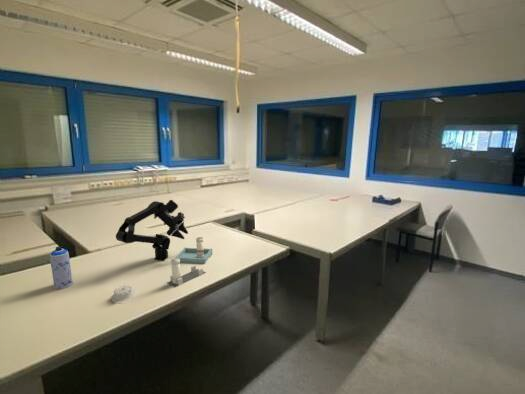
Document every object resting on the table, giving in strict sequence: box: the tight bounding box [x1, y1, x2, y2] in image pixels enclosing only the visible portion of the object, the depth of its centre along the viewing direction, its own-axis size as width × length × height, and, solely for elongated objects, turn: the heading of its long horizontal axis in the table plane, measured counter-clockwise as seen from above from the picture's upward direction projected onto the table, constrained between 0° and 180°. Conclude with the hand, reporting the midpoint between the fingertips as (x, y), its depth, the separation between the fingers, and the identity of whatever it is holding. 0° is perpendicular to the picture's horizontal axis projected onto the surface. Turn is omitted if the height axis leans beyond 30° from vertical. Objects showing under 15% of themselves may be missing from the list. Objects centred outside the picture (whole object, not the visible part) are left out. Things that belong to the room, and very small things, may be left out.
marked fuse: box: [195, 236, 204, 258], centre depth 171 cm, size 4×4×12 cm
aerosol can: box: [49, 245, 74, 290], centre depth 138 cm, size 8×8×20 cm
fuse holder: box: [166, 265, 207, 288], centre depth 147 cm, size 7×20×4 cm, turn 142°
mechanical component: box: [110, 285, 136, 304], centre depth 130 cm, size 10×4×10 cm
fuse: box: [170, 257, 182, 284], centre depth 141 cm, size 4×4×12 cm
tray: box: [174, 247, 213, 264], centre depth 172 cm, size 18×16×4 cm
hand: (185, 235), depth 172 cm, fingers open, 9 cm apart
